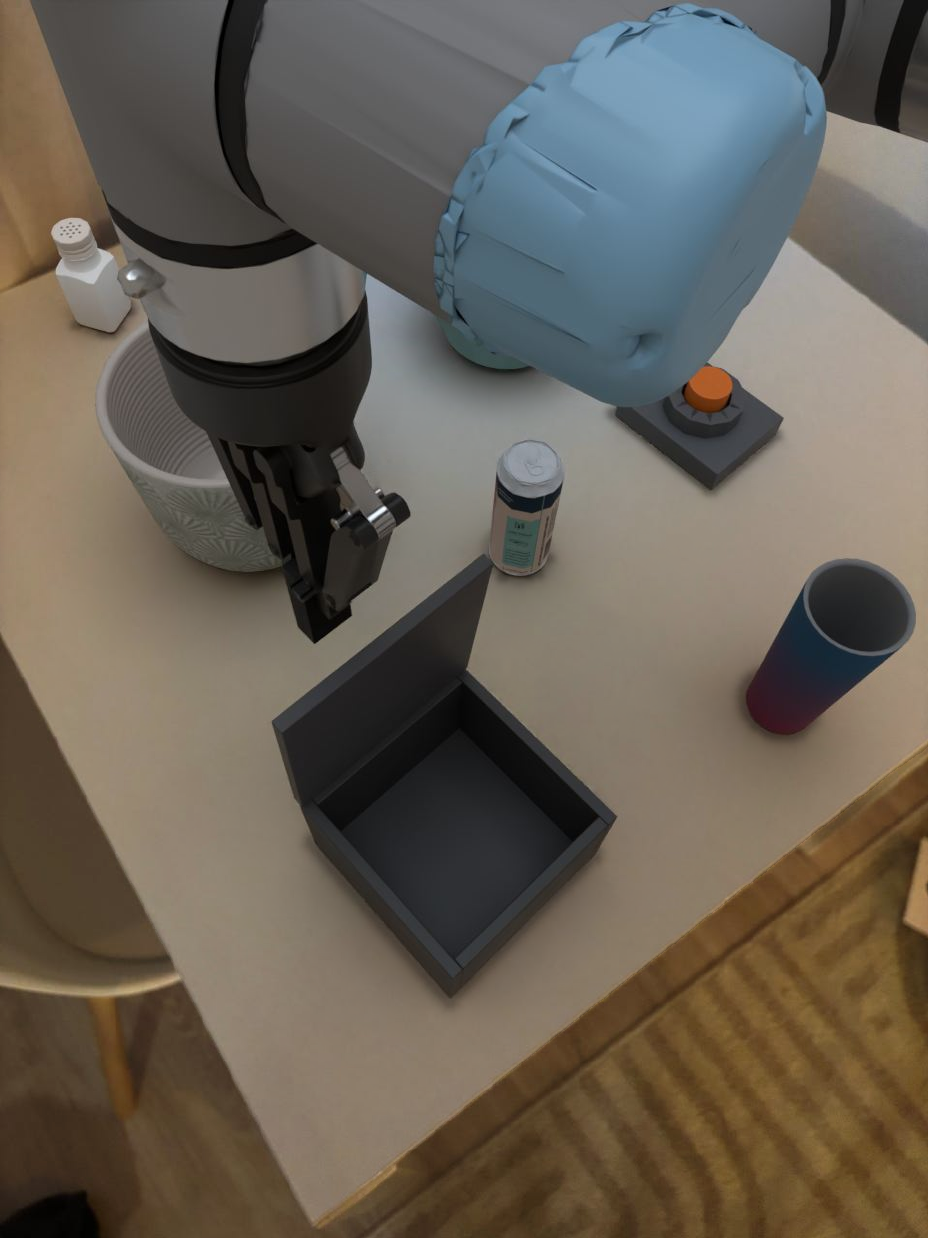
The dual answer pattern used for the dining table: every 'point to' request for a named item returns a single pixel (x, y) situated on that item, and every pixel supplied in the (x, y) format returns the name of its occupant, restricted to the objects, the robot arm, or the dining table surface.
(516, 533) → the beer can
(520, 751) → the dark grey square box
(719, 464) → the control block
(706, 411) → the button
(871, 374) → the dining table surface
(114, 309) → the pepper shaker
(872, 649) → the cup
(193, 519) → the planter
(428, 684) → the dark grey square slab
